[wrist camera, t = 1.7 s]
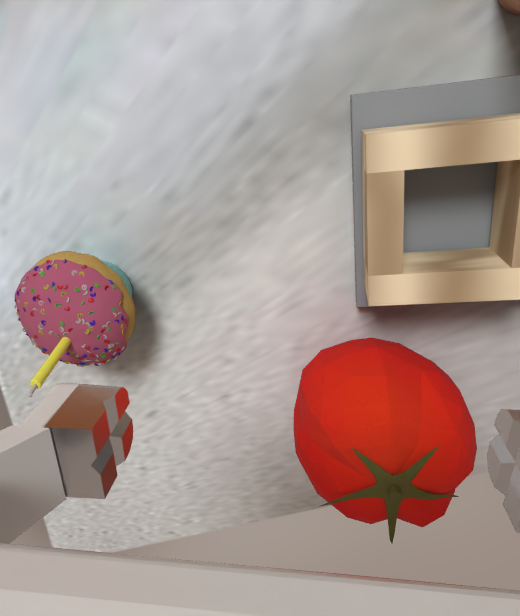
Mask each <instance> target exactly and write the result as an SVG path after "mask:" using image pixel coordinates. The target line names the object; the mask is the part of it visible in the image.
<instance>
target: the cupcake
mask: <svg viewBox="0 0 520 616" xmlns="http://www.w3.org/2000/svg"><path fill="white" fill-rule="evenodd" d="M132 297H133V291H132V286H131V283H130V281H129V279H128V277H127V276H126V275H125V273H124V272H123V271H122V270H121V269H119V268H118V267H117V266H115V265H113V264H111V263H108V262H105V261H101V260H99V259H98V258H97V257H95V256H92V255H89V254H81V253H76V252H71V251H62V252H58V253H54V254H51V255H49V256H47V257H45V258H43V259H42V260H40V261H39V262H37V263H36V264H35V265H34V266H33V267H32V268H31V269H30V270H29V271H28V272H27V273H26V274H25V275H24V277H23V278H22V280H21V282H20V284H19V286H18V288H17V290H16V293H15V302H16V305H15V308H16V306H17V315H18V316H19V318H18V320H19V321H21V323H22V325H23V327H24V328H23V331H24V330H25V331H24V332H26V333H27V334H26V335H28V336H29V338H30V339H31V340H32V344H33V345H34V344H35V345H36V347H38V348H39V349H41V350H42V353H44V354H48V355H49V357H48V358H47V360H46V361H45V362H44V364H43V365H42V367H41V368H40V369H39V371H38V372H37V373H36V375H35V376H34V378H33V379H32V380H31V382H30V384H31V386H32V389H31V391H30V392H29V397H32V394H33V392H34V391H35V389H36V388H40V387H41V386H42V384H43V383H44V381H45V380H46V378H47V377H48V376H49V374H50V373H51V371H52V370H53V368H54V367H55V365H56V364H57V362H58V361H59V360H60V361H63V362H64V363H66V364H69V363H70V364H76V365H77V366H79V365H80V366H79V367H81V366H82V367H83V366H84V365H85V366H87V365H89V366H93V365H94V364H95V365H96V364H98V365H102V364H103V363H106V362H108V361H110V360H112V359H114V360H115V359H116V358H117V356H119V355H120V354H121V353H122V352H123V351H124V350H125V348H126V346H127V343H126V342H127V341H128V339H129V338H130V336H131V334H132V332H133V330H134V327H135V304H134V302H133V300H132ZM98 365H96V366H98Z"/></svg>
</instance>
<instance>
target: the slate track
mask: <svg viewBox="0 0 520 616" xmlns="http://www.w3.org/2000/svg"><path fill="white" fill-rule="evenodd" d="M350 96H351V132H352V168H353V205H354V241H355V278H356V302H357V307H374V306H369V305H368V300H367V295H366V290H365V285H364V252H363V200H362V149H361V130H366V129H375V128H384V127H393V126H403V125H412V124H421V123H431V122H440V121H449V120H459V119H468V118H477V117H487V116H496V115H505V114H515V113H520V75H513V76H505V77H497V78H489V79H480V80H472V81H464V82H455V83H447V84H439V85H430V86H422V87H414V88H405V89H397V90H389V91H380V92H372V93H364V94H355V95H350ZM496 172H497V162H488V163H477V164H466V165H455V166H444V167H433V168H422V169H411V170H404V227H403V253H408V252H424V251H440V250H455V249H471V248H487V247H489V245H490V234H491V224H492V213H493V203H494V192H495V182H496ZM498 301H509V300H498ZM476 302H487V301H476ZM453 303H464V302H453ZM431 304H442V303H431ZM408 305H419V304H408ZM386 306H397V305H386Z"/></svg>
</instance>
